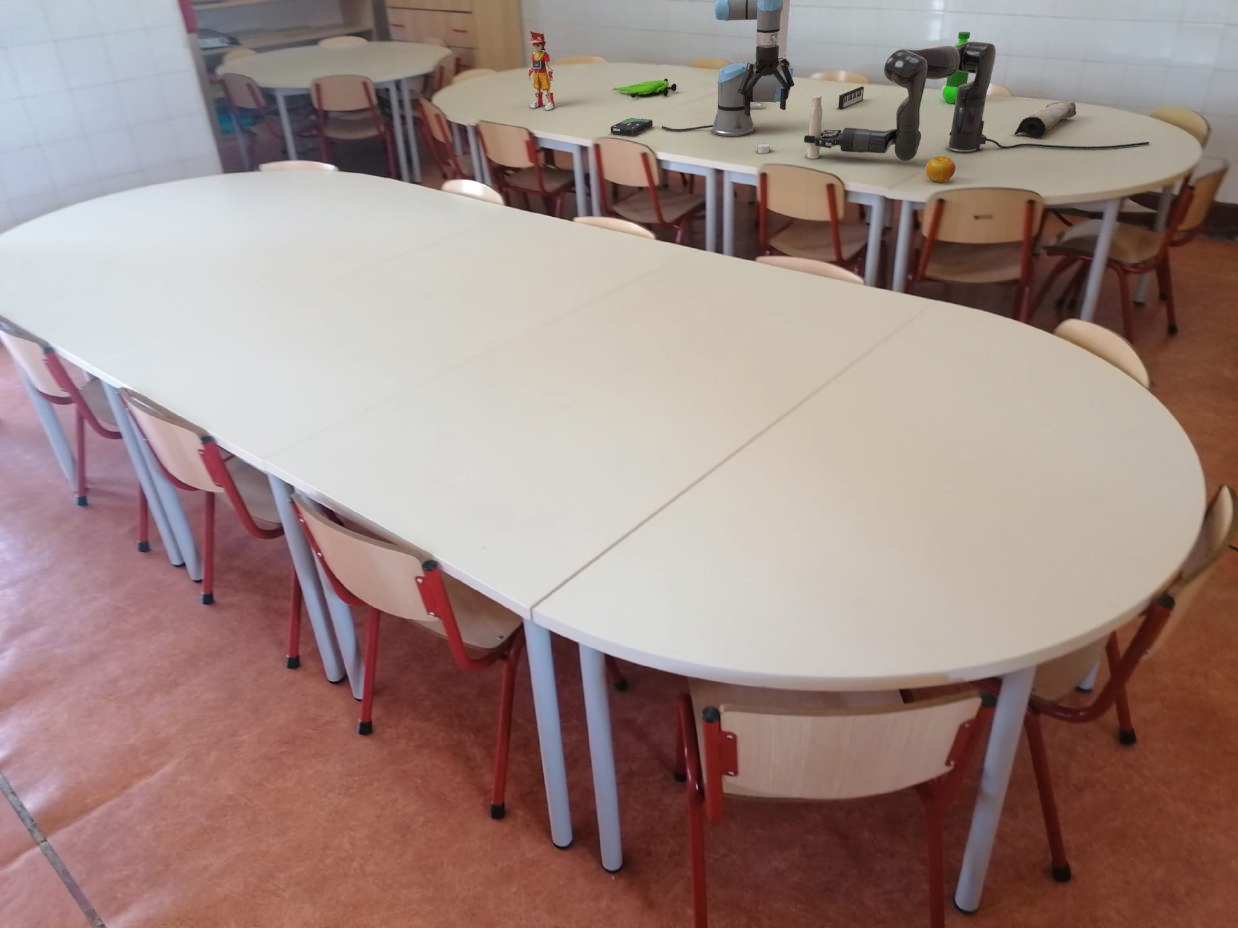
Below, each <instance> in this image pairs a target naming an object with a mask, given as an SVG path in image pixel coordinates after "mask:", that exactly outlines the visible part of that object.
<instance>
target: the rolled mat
mask: <svg viewBox="0 0 1238 928" xmlns="http://www.w3.org/2000/svg"><path fill="white" fill-rule="evenodd" d="M1076 109H1077V108H1076V103H1075V102H1074V101H1068V100H1067V101H1065V100H1064V101H1057V102H1051V103H1048V104H1047V105H1045V108H1042V109H1040V110H1037V111H1036V112H1033V113H1032V114H1030V115H1029V116H1027V117H1025V118H1023V119H1022V120H1021V121H1020V123H1019V124H1018V127H1017V128H1016V130H1015V131H1014V136H1017V135H1019V134H1026V135H1027V136H1028V137H1031V138H1037V139H1039V138H1042V137H1043V136H1044V135H1046V133H1048V132H1049V131H1051V130H1050V129H1052V128H1053V127H1054V126H1055V125H1056V124H1058V123H1059V122H1060V121H1062V120H1063V119H1068V118H1072V117H1075V116H1076V115H1077V111H1076Z"/></svg>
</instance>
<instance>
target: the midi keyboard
mask: <svg viewBox="0 0 1238 928" xmlns="http://www.w3.org/2000/svg"><path fill="white" fill-rule="evenodd" d="M864 91H865V86H862V85H861V86H859V87H857V88H854V89H851V90H849V91H846V92H844V93H842V94H839V96H838V105H837V106H838V107H837V109H839V110H842V109H844V108H846V107H848V106H851V105H852V104H855V103H858V102H859V101H863V100H864Z"/></svg>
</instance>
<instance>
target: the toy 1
mask: <svg viewBox="0 0 1238 928" xmlns="http://www.w3.org/2000/svg"><path fill="white" fill-rule="evenodd" d="M529 33H530V35H531V36H528V37H527V38H528V39H529V40H528V41H527V43H529V44H530V43H531V44H532V48H533V50H534V51H533V52H532V55H531V58H530V59H531V63H530V66H528V74H527V75H528V76H527V77H528V79H529V80H531V75H532V74H533V84H532V85H533V86H532V87H533V88H534V89H535V90H536V92H534V95H535V97H536V100H535V101H533V102H531V105H530V108H531V109H535V108H538V107H542V106H544V101H543V100H544V99H543V95H544V92H546V94H545V97H546V99H547V103H546V104H545V106H544V110H546V111H549V110H553V109H554V107H555V106H556V105H555V99H554V92H551V91H550V90H551V86H552V84H551V82H552V81H553V80H554V77H553V73H554V71H555V70H554V69H552V68H551V63H550V61H551V59H550V58H551V57H550V54H549V53H548V52H547V50H546V48H545V46H546V44H547V41H545V35H544V33H543V32H542V33H539V32H535V31H529Z"/></svg>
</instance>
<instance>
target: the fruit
mask: <svg viewBox="0 0 1238 928" xmlns="http://www.w3.org/2000/svg"><path fill="white" fill-rule="evenodd" d="M955 173H956V163H955V162H954V161H953V159H952V158H950V157H948V156H945V155H941V156H940V155H939V156H935V157H933V158H931V159H930V160H929V161H928V162H927V163H926V166H925V175H926V177H927V178H928V179H929V180H930V181H933V182H939V183H941V182H942V183H943V182H946V181H949V180H950V179H951V178H952V177H953V176H954V175H955Z"/></svg>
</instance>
